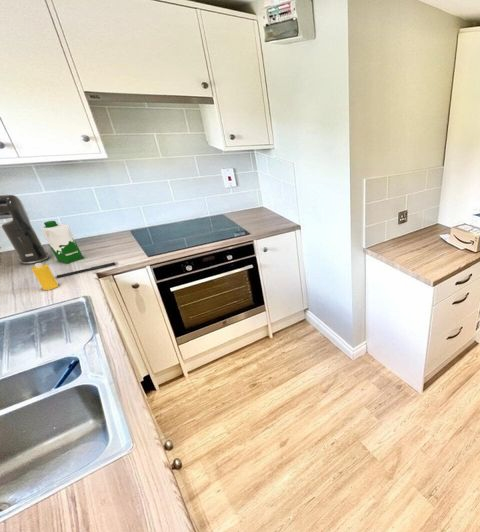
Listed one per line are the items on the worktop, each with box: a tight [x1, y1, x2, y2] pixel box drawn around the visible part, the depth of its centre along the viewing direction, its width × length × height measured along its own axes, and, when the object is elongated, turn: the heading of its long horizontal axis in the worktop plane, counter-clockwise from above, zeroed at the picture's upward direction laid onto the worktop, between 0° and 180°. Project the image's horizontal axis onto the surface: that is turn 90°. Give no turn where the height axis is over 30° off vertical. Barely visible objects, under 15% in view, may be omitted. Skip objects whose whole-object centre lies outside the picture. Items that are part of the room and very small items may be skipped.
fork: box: [56, 261, 116, 279], centre depth 155 cm, size 3×21×1 cm, turn 133°
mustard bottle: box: [31, 262, 59, 291], centre depth 138 cm, size 5×5×12 cm
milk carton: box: [39, 220, 84, 264], centre depth 160 cm, size 9×9×20 cm
